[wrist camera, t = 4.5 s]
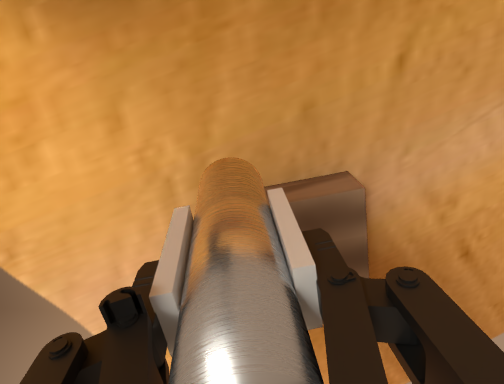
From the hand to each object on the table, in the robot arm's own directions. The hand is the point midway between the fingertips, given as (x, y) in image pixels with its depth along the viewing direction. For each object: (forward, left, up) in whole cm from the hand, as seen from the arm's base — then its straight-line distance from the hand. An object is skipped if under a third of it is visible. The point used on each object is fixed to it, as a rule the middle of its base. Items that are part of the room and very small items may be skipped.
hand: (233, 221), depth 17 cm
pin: (0, 0, -5) cm, 5 cm away
